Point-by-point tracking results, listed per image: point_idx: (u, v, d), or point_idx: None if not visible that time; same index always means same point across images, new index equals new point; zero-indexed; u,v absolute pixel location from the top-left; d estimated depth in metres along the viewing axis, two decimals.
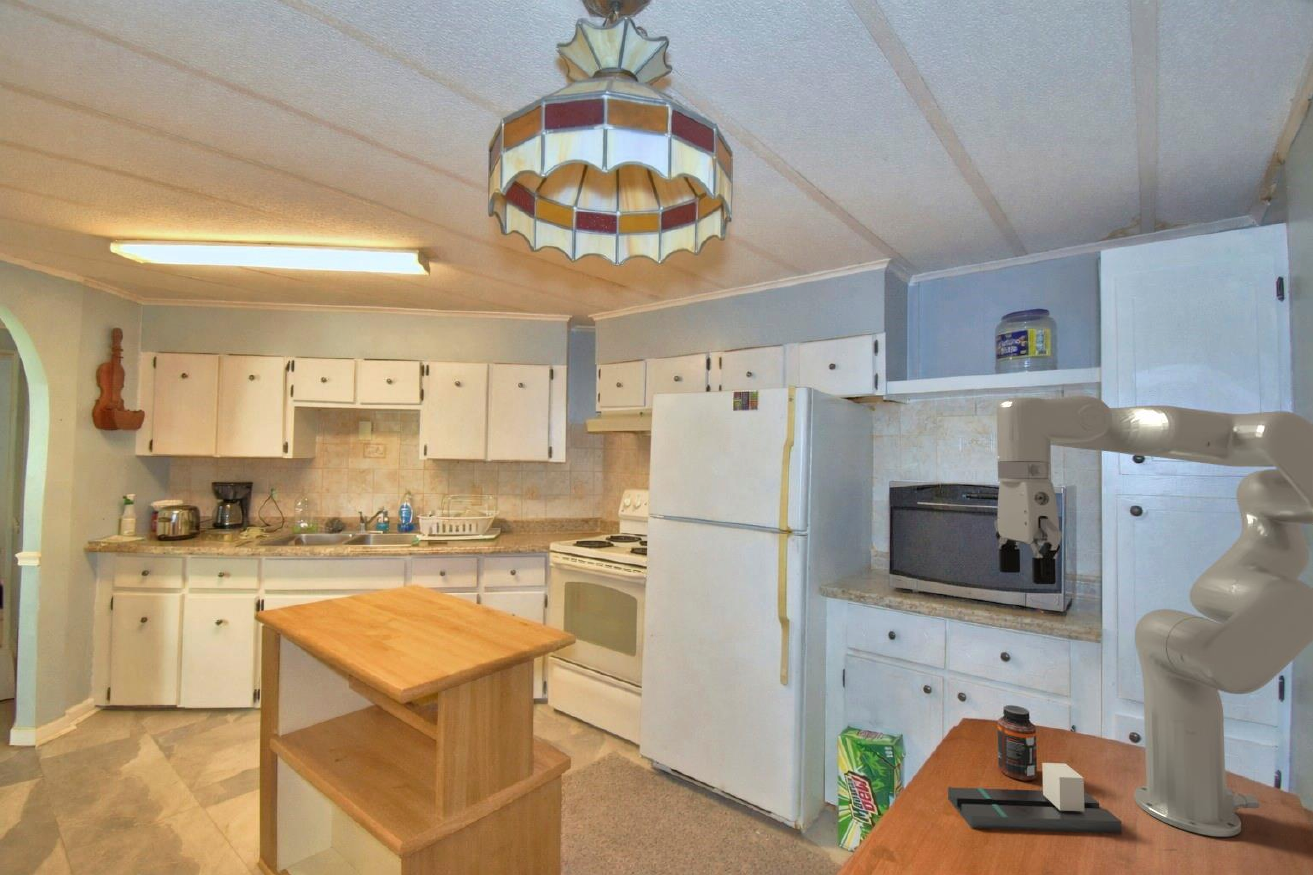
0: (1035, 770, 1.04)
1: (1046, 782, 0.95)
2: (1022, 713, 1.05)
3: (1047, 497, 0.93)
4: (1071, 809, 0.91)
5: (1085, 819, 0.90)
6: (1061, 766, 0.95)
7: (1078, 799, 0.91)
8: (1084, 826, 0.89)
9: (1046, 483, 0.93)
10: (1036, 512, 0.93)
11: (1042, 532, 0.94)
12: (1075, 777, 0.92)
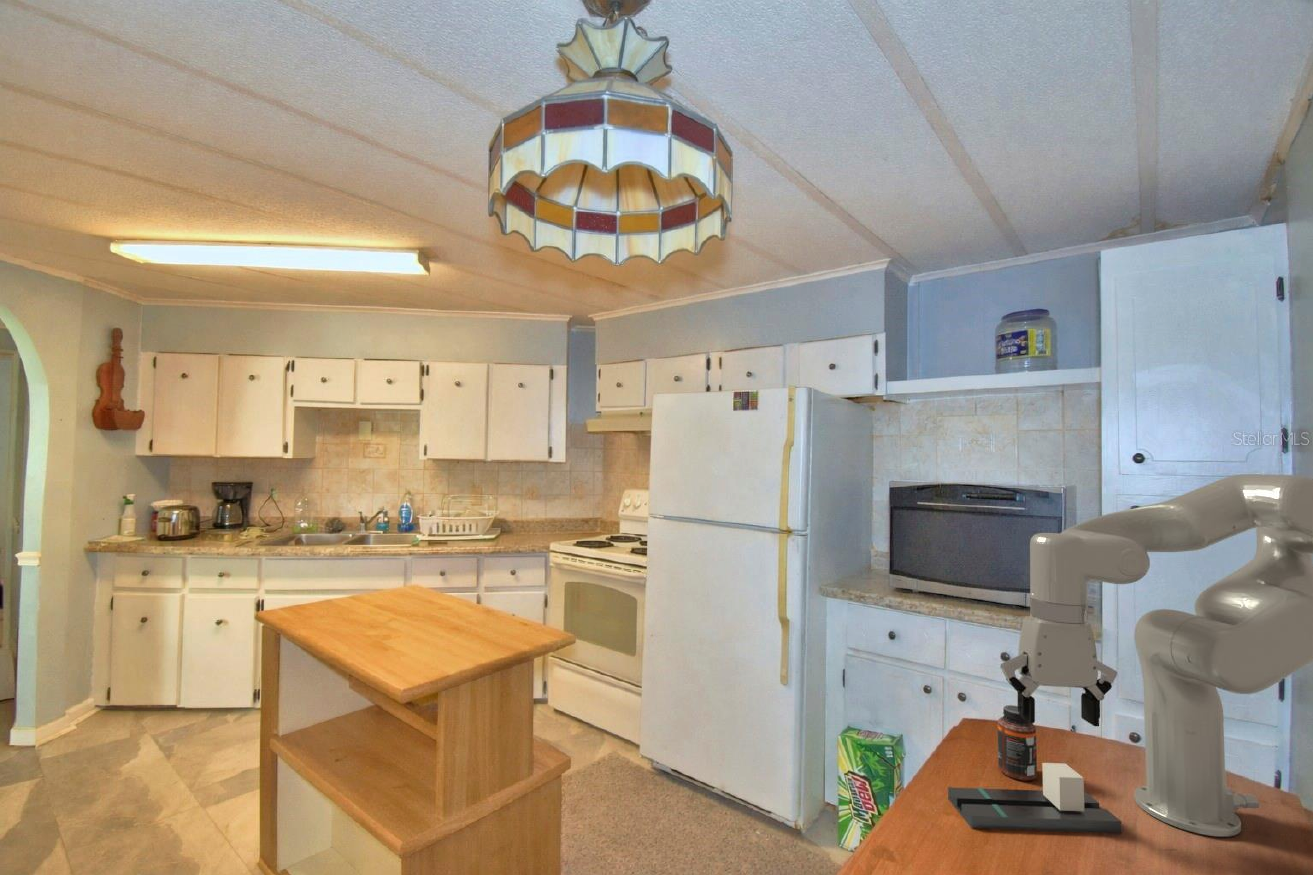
0: (1035, 770, 1.04)
1: (1046, 782, 0.95)
2: None
3: None
4: (1071, 809, 0.91)
5: (1085, 819, 0.90)
6: (1061, 766, 0.95)
7: (1078, 799, 0.91)
8: (1084, 826, 0.89)
9: None
10: None
11: None
12: (1075, 777, 0.92)
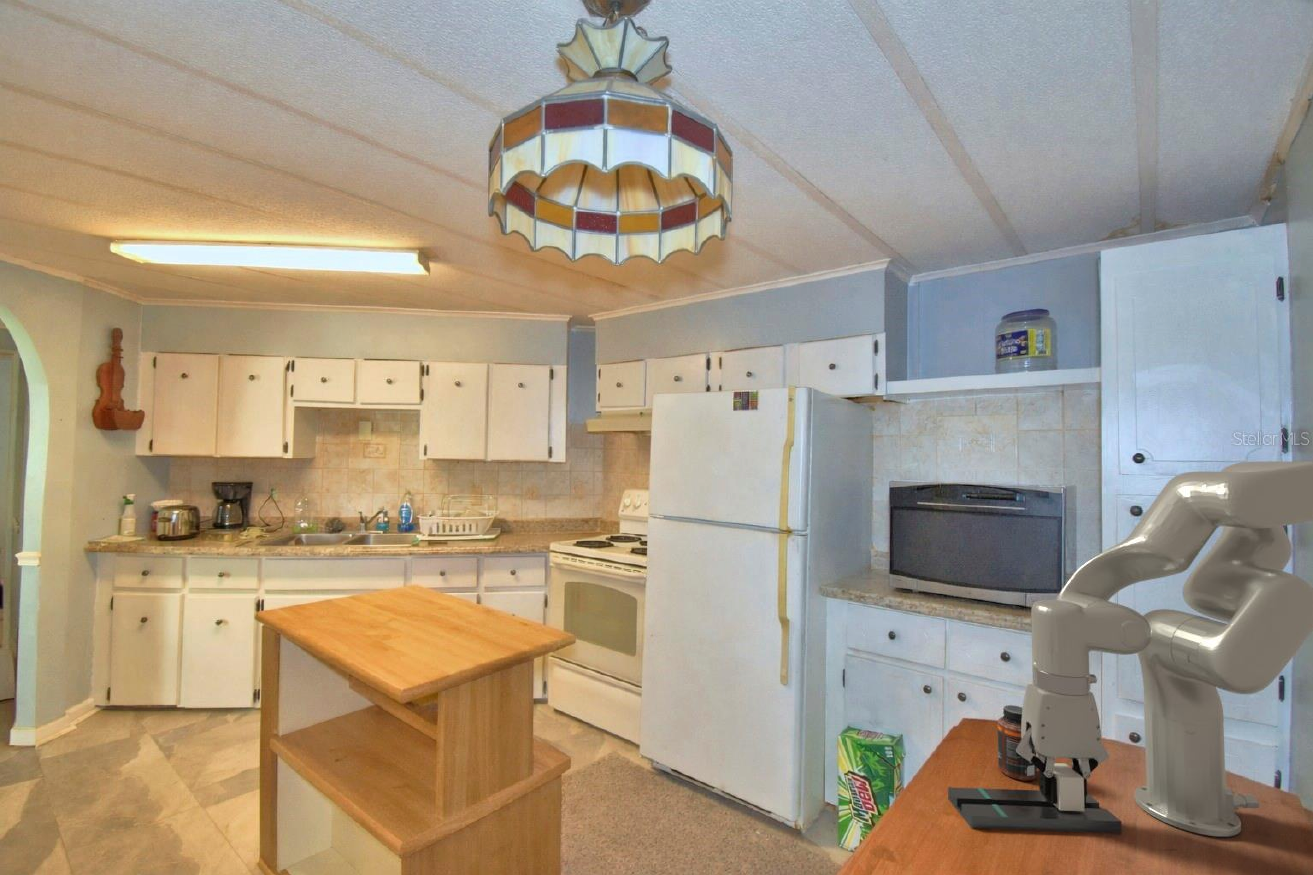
0: (1035, 770, 1.04)
1: None
2: None
3: None
4: (1071, 809, 0.91)
5: (1085, 819, 0.90)
6: (1061, 766, 0.95)
7: (1078, 799, 0.91)
8: (1084, 826, 0.89)
9: None
10: None
11: None
12: (1075, 777, 0.92)
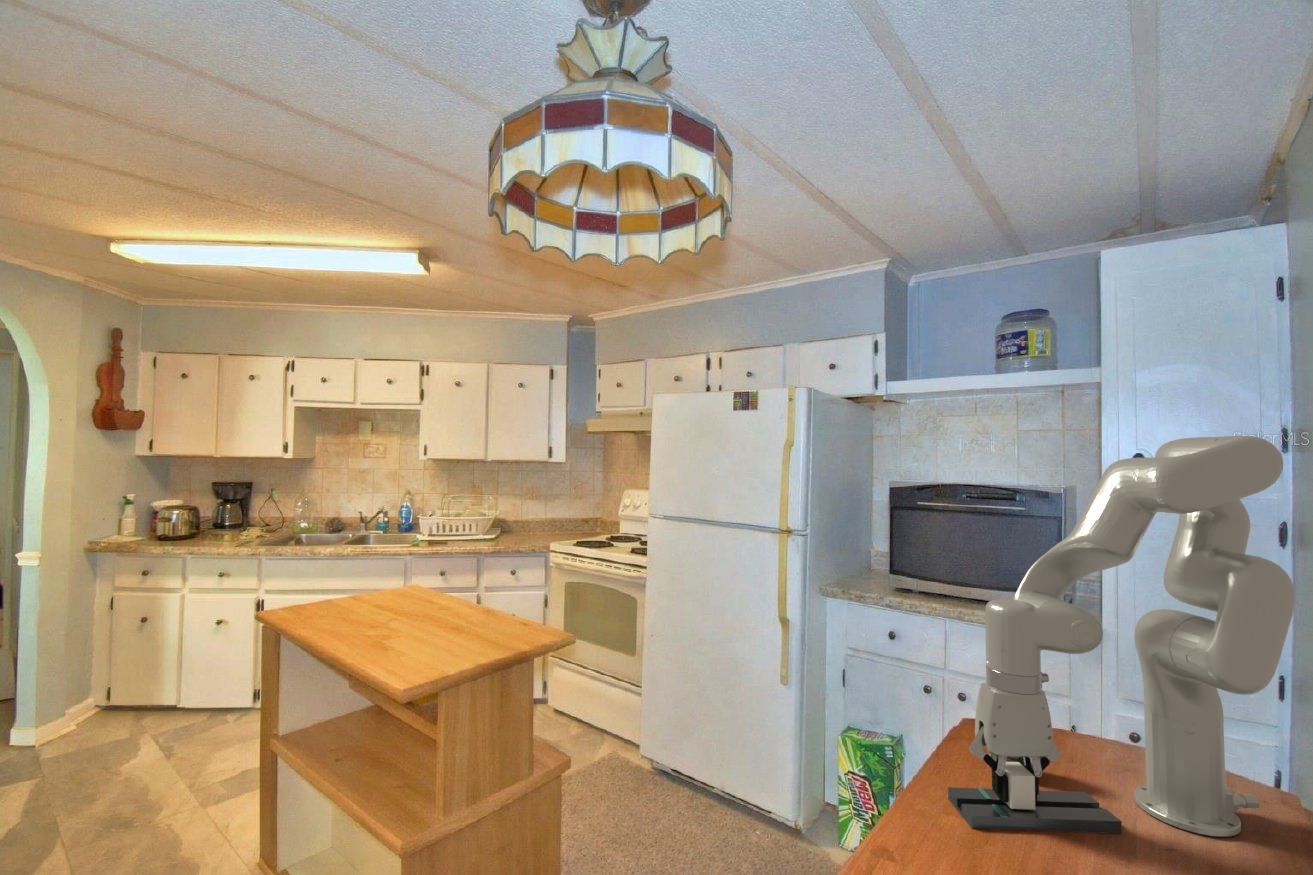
0: None
1: None
2: None
3: None
4: (1022, 807, 0.92)
5: (1085, 819, 0.90)
6: (1014, 765, 0.95)
7: (1029, 798, 0.92)
8: (1084, 826, 0.89)
9: None
10: None
11: None
12: (1026, 775, 0.92)
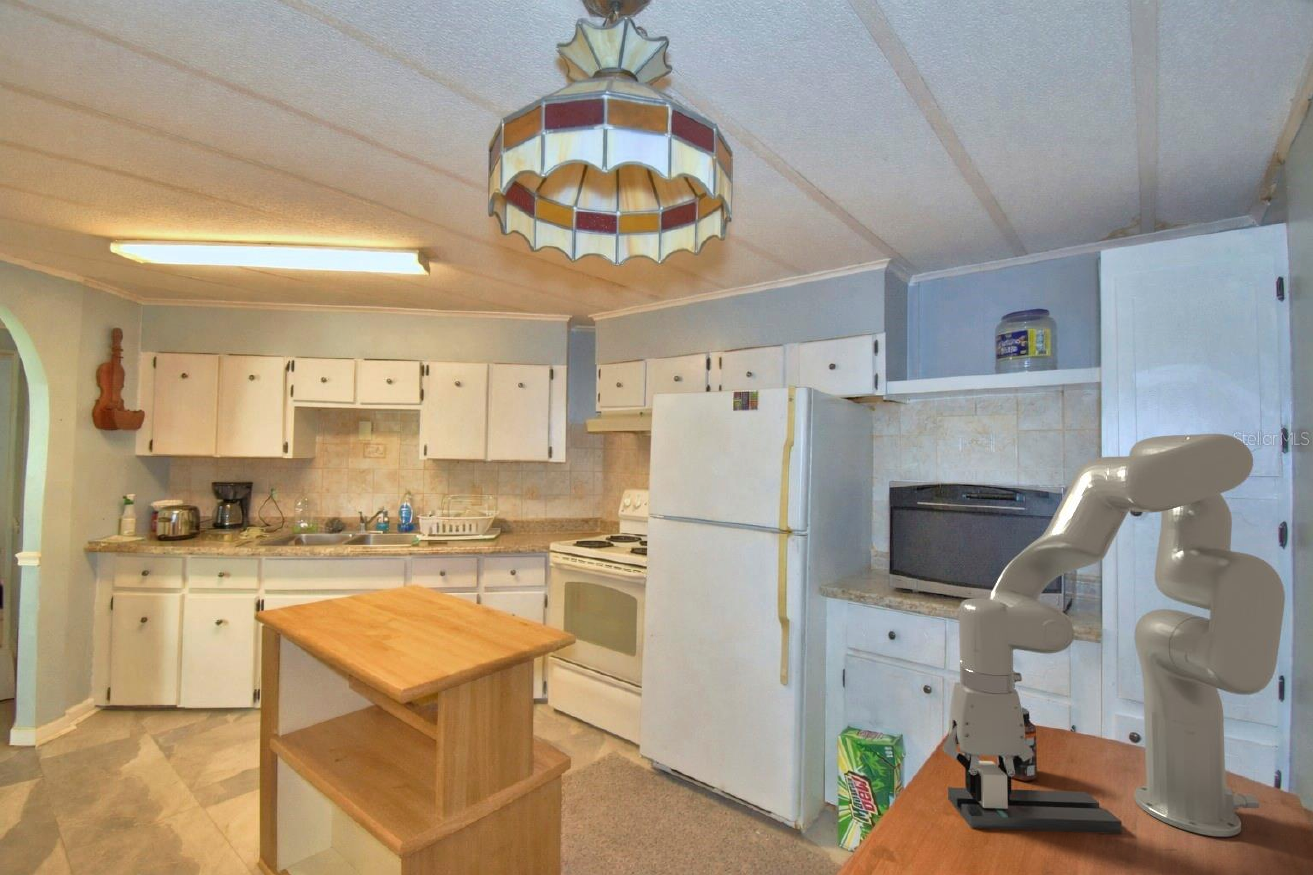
0: (1035, 770, 1.04)
1: None
2: None
3: None
4: (994, 806, 0.92)
5: (1085, 819, 0.90)
6: (987, 764, 0.95)
7: (1002, 797, 0.92)
8: (1084, 826, 0.89)
9: None
10: None
11: None
12: (999, 775, 0.92)
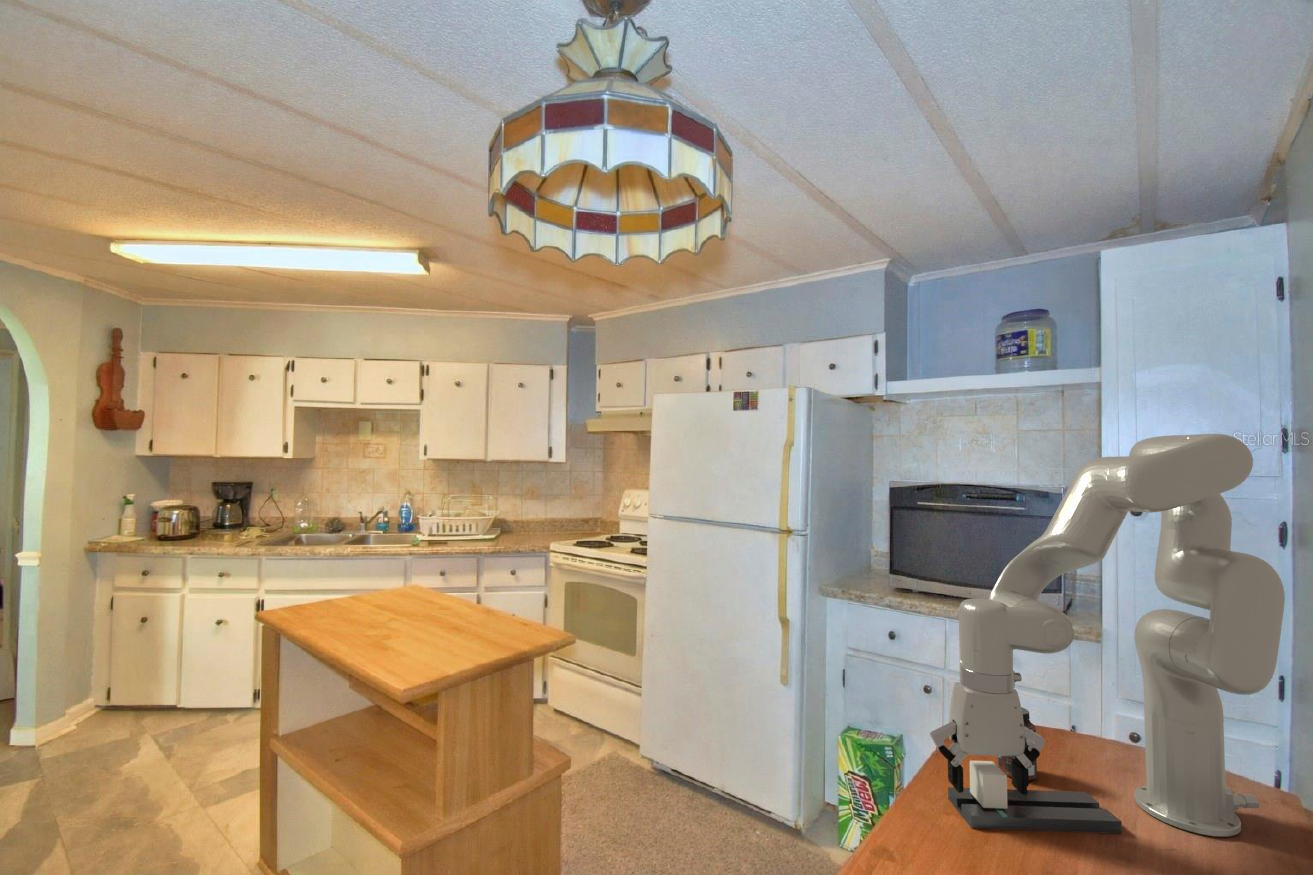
0: (1035, 770, 1.04)
1: (972, 780, 0.95)
2: (1022, 713, 1.05)
3: None
4: (994, 806, 0.92)
5: (1085, 819, 0.90)
6: (987, 764, 0.95)
7: (1001, 797, 0.92)
8: (1084, 826, 0.89)
9: None
10: None
11: None
12: (998, 774, 0.92)
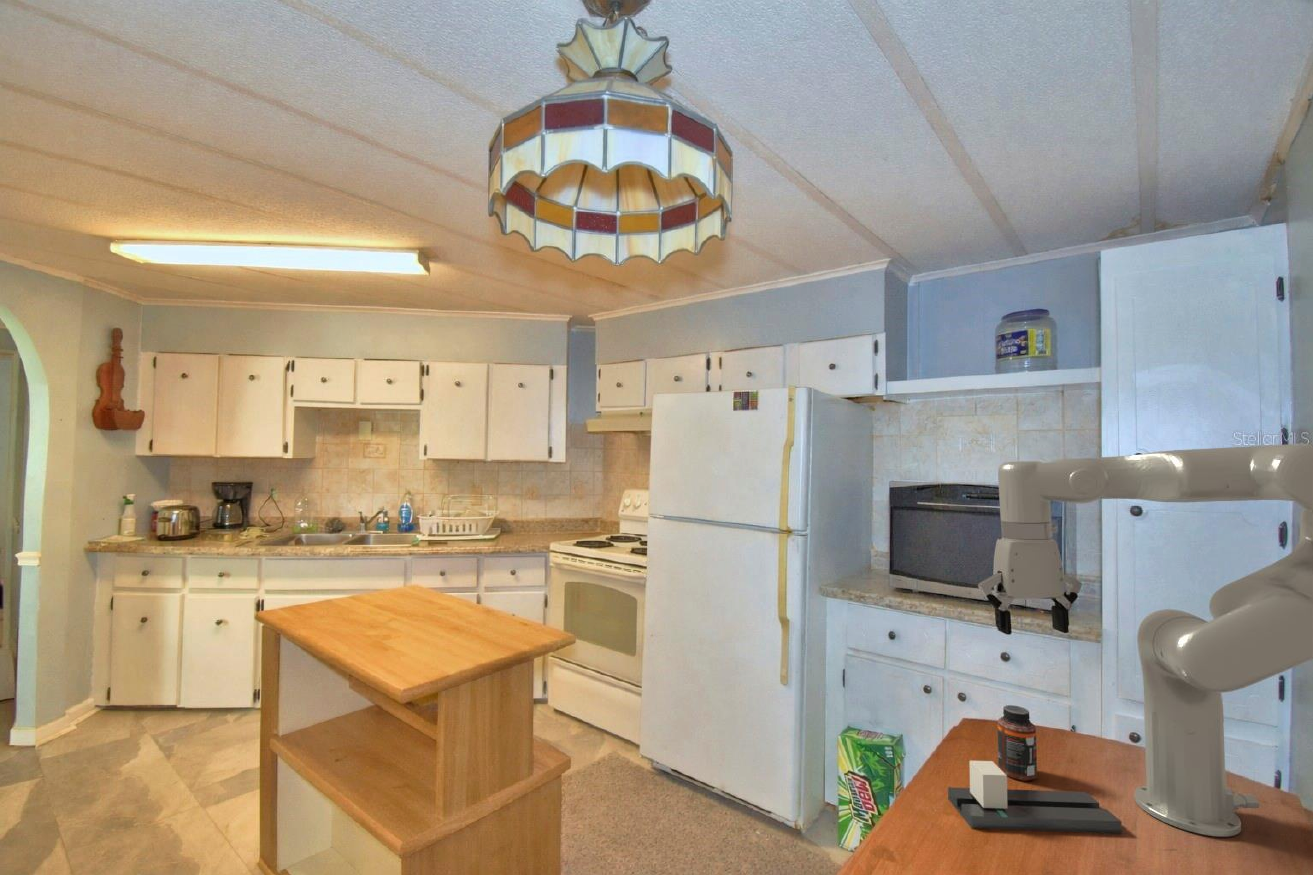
0: (1035, 770, 1.04)
1: (972, 780, 0.95)
2: (1022, 713, 1.05)
3: None
4: (994, 806, 0.92)
5: (1085, 819, 0.90)
6: (987, 764, 0.95)
7: (1001, 797, 0.92)
8: (1084, 826, 0.89)
9: None
10: None
11: None
12: (998, 774, 0.92)
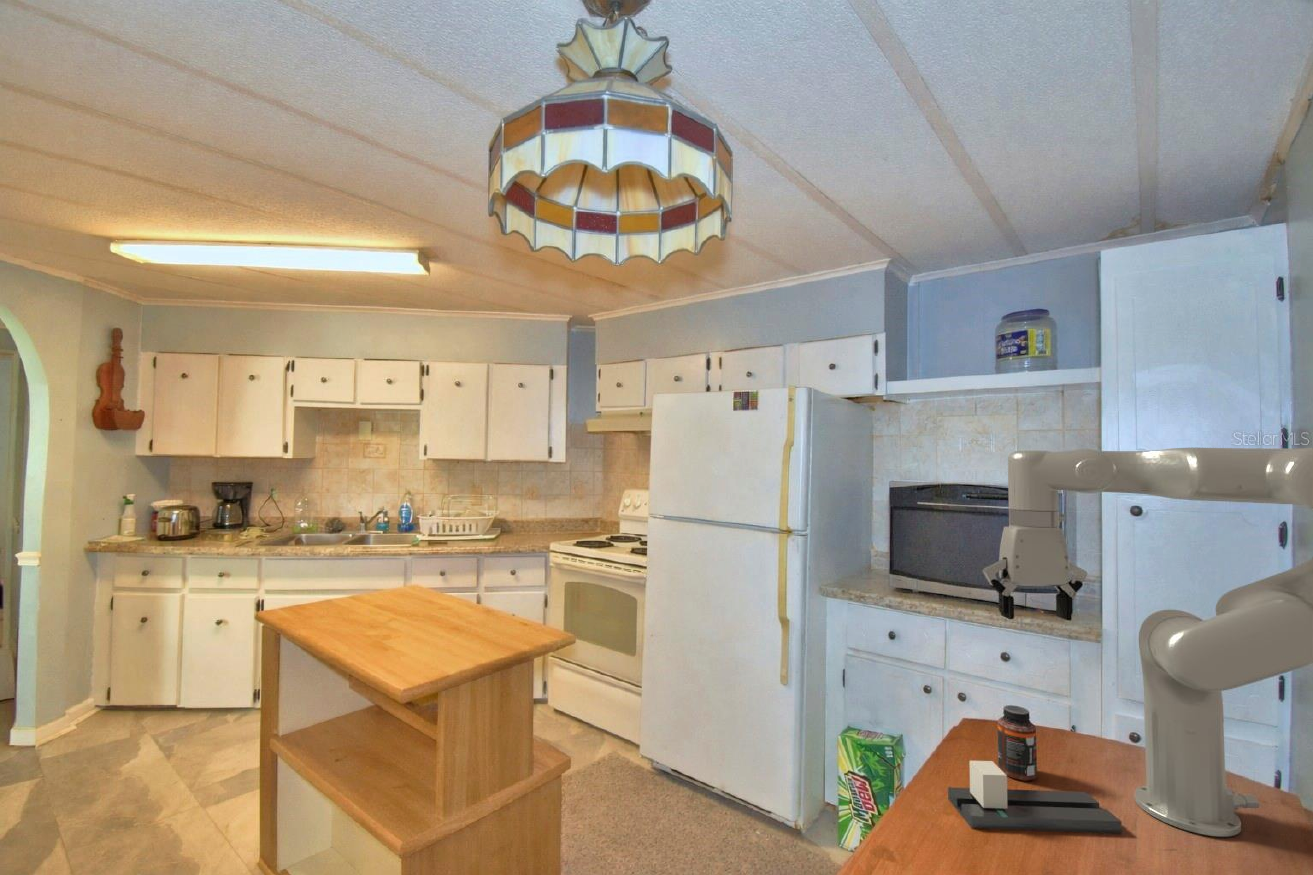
0: (1035, 770, 1.04)
1: (972, 780, 0.95)
2: (1022, 713, 1.05)
3: None
4: (994, 806, 0.92)
5: (1085, 819, 0.90)
6: (987, 764, 0.95)
7: (1001, 797, 0.92)
8: (1084, 826, 0.89)
9: None
10: None
11: None
12: (998, 774, 0.92)
